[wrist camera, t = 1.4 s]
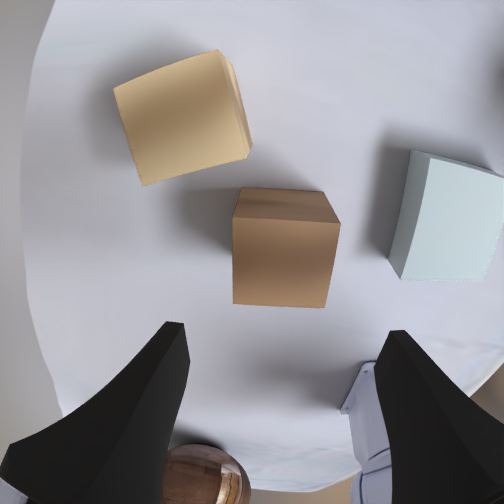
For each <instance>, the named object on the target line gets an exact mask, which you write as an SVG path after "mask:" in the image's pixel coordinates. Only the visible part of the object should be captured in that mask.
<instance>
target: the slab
mask: <svg viewBox="0 0 504 504" xmlns="http://www.w3.org/2000/svg"><path fill="white" fill-rule="evenodd" d="M503 224H504V176H502V175H500V174H498V173H496V172H494V171H491V170H488V169H485V168H481V167H478V166H475V165H471V164H468V163H464V162H461V161H457V160H453V159H450V158H446V157H442V156H438V155H434V154H429V153H425V152H421V151H416V150H411V152H410V159H409V165H408V172H407V177H406V183H405V188H404V194H403V199H402V203H401V208H400V213H399V217H398V222H397V226H396V230H395V234H394V238H393V242H392V246H391V250H390V254H389V257H388V261H389V262H390V264H391V265H392V267H393V269H394V270H395V272H396V274H397V275H398V277H399V279H400V280H422V281H483V279H484V277H485V274H486V272H487V269H488V267H489V264H490V262H491V259H492V256H493V254H494V251H495V248H496V245H497V243H498V240H499V237H500V234H501V231H502V227H503Z"/></svg>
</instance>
